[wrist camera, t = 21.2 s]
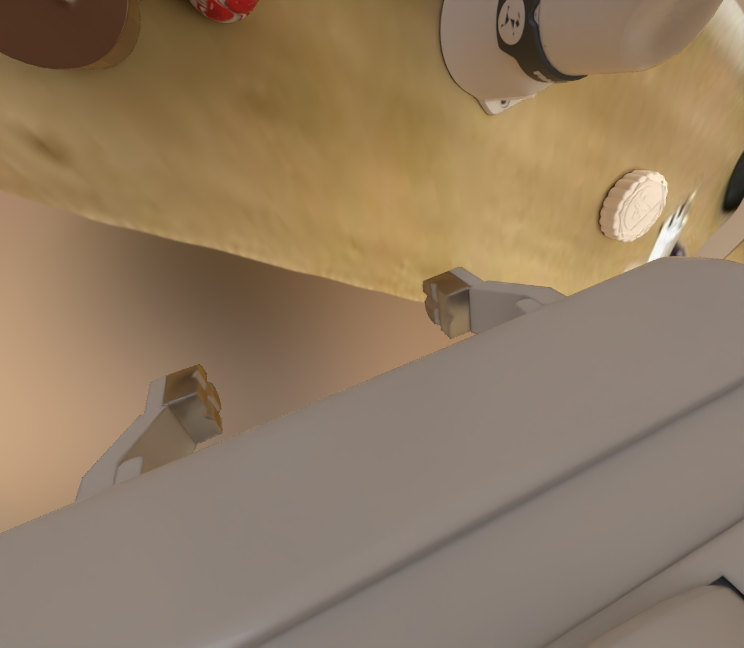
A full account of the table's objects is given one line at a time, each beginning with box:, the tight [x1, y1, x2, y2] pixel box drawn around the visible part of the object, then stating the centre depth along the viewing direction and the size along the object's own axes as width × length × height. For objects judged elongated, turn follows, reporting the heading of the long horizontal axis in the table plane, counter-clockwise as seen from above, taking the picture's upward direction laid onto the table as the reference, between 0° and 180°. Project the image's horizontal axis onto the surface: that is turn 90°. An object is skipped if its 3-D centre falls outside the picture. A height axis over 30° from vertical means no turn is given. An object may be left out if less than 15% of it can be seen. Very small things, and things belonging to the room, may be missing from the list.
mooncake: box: [599, 170, 668, 242], centre depth 67 cm, size 12×12×4 cm
